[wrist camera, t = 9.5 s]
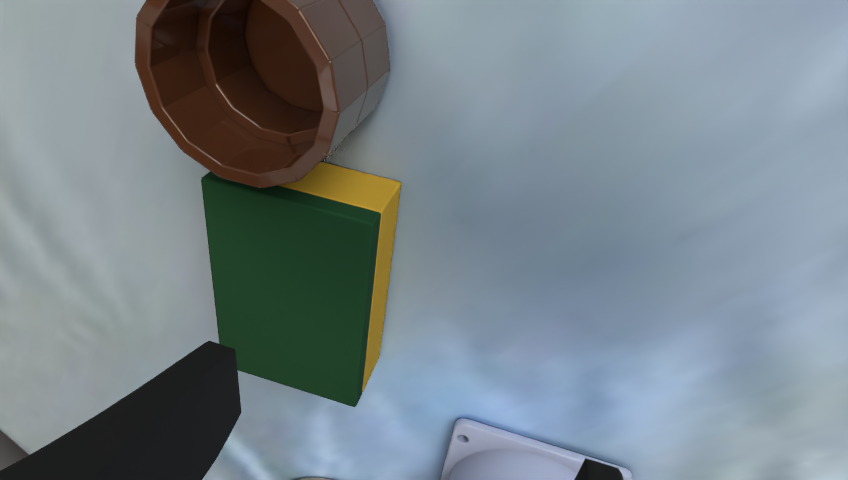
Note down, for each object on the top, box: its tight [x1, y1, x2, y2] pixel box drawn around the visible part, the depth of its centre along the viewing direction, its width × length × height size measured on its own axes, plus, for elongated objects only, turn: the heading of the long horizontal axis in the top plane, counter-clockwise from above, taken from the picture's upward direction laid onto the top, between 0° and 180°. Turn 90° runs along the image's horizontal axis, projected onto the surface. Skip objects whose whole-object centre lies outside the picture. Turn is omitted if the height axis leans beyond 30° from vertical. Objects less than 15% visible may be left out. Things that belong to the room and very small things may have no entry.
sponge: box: [201, 162, 401, 407], centre depth 21 cm, size 9×6×3 cm, turn 172°
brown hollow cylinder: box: [135, 0, 390, 188], centre depth 16 cm, size 6×6×5 cm
